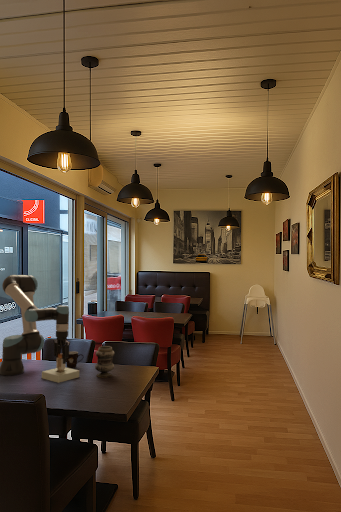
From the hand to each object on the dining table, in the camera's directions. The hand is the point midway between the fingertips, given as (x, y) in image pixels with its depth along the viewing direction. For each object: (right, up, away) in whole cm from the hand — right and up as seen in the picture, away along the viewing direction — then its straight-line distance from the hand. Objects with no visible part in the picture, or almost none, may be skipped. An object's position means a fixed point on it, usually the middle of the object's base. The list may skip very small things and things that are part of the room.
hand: (60, 368), depth 231 cm
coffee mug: (+1, -7, +26) cm, 27 cm away
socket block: (0, -6, 0) cm, 6 cm away
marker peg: (0, -4, 0) cm, 4 cm away
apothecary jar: (+26, -7, +6) cm, 28 cm away
